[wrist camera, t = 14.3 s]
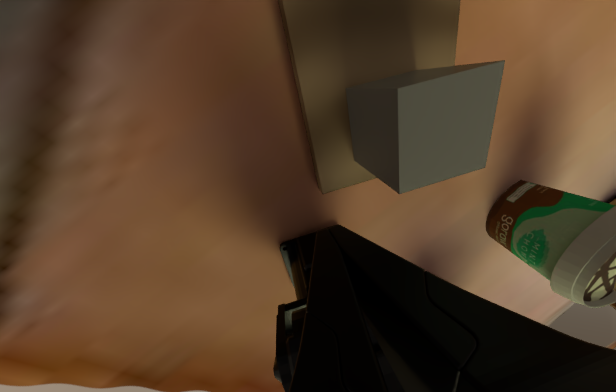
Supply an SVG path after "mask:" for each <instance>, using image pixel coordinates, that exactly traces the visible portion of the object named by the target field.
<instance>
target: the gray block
mask: <svg viewBox="0 0 616 392" xmlns="http://www.w3.org/2000/svg"><path fill="white" fill-rule="evenodd" d="M504 63H505V60H503V61H494V62H485V63H476V64H467V65H458V66H449V67H440V68H430V69H421V70H415V71H411V72H407V73H403V74H399V75H395V76H391V77H387V78H384V79H380V80H376V81H372V82H368V83H364V84H360V85H356V86H352V87H349V88H346V96H347V104H348V113H349V121H350V129H351V137H352V146H353V154H354V161H355V162H357V163H358V164H359V165H361V166H362V167H364V168H365V169H366V170H368V171H369V172H370V173H372V174H373V175H374V176H376V177H377V178H378V179H380V180H381V181H383V182H384V183H385V184H387V185H388V186H389V187H391V188H392V189H393V190H395V191H396V192H397V193H399V194H401V193H405V192H408V191H411V190H414V189H417V188H421V187H424V186H427V185H430V184H434V183H437V182H440V181H443V180H446V179H450V178H453V177H456V176H459V175H463V174H466V173H469V172H472V171H475V170H479V169H482V168H485V166H486V161H487V155H488V150H489V144H490V139H491V134H492V128H493V123H494V117H495V112H496V106H497V101H498V96H499V90H500V85H501V79H502V74H503V69H504Z"/></svg>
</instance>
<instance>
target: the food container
mask: <svg viewBox="0 0 616 392" xmlns="http://www.w3.org/2000/svg"><path fill="white" fill-rule="evenodd" d="M486 231H487V233H488V235H489V236H490V237H491V238H493V239H494V240H495V241H497V242H498V243H500V244H501V245H502V246H504V247H505V248H506V249H508V250H509V251H510V252H512V253H513V254H514V255H516V256H517V257H518V258H520V259H521V260H523V261H524V262H525V263H527V264H528V265H529V266H531V267H532V268H533V269H535V270H536V271H537V272H539V273H540V274H541V275H543V276H544V277H546V278H547V279H548V280H550V286H551V289H552V290H553V291H554V292H555V293H557V294H559V295H561V296H563V297H565V298H567V299H569V300H571V301H573V302H575V303H578V304H584V305H585V306H587V307H590V308H599V307H604V306H607V305H610V304H613V303H615V302H616V291H615V290H613V288H614V285H615V281H616V205H612V204H609V203H605V202H601V201H597V200H594V199H590V198H586V197H583V196H579V195H575V194H571V193H568V192H564V191H560V190H557V189H553V188H549V187H545V186H542V185H538V184H534V183H531V182H527V181H523V180H520V181H519V182H517V183H516V184H514V185H512V186H511V187H510V188H509V189H508V190H507V191H506V192H504V193H503V194H502V195H501V196H500V198H499V199H498V200H497V201H496V203H495V204H494V205H493V207H492V209H491V211H490V213H489V214H488V217H487V221H486Z"/></svg>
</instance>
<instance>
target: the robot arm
mask: <svg viewBox="0 0 616 392" xmlns="http://www.w3.org/2000/svg"><path fill="white" fill-rule="evenodd" d="M283 247H286V248H283ZM280 251H281V254H282V256H283V259H284V262H285V265H286V267H287V270H288V273H289V275H290V278H291V281H292V284H293V286H294V288H295V292H296V297H297V301H294V302H291V303H288V304H285V303H284V304H281V305H278V315H277V325H276V357H275V362H274V368H273V369H274V376H275V378H276V379H277V380H279V381H280V382H281V383H282V385H283V388H284V390H285V392H616V350H614V349H609V348H605V347H602V346H598V345H595V344H592V343H588V342H585V341H582V340H580V339H577V338H574V337H571V336H569V335H566V334H564V333H562V332H559V331H557V330H555V329H552V328H550V327H548V326H545V325H543V324H541V323H538V322H536V321H534V320H531V319H529V318H527V317H525V316H522V315H520V314H518V313H515V312H513V311H511V310H508V309H506V308H504V307H501V306H499V305H497V304H495V303H492V302H490V301H488V300H485V299H483V298H481V297H479V296H477V295H474V294H472V293H470V292H468V291H466V290H463V289H461V288H459V287H457V286H455V285H453V284H451V283H449V282H447V281H445V280H443V279H441V278H439V277H437V276H436V275H434V274H432V273H430V272H428V271H424V269H422V268H420V267H418V266H416V265H415V264H413V263H411V262H409V261H407V260H405V259H403V258H401V257H400V256H398V255H396V254H394V253H392V252H390V251H388V250H386V249H384V248H383V247H381V246H379V245H377V244H375V243H373V242H371V241H369V240H367V239H366V238H364V237H362V236H360V235H358V234H356V233H354V232H352V231H350V230H349V229H347V228H345V227H343V226H341V225H335V226H332V227H329V228H326V229H322V230H319V231H317V232H315V233H311V234H308V235H305V236H302V237H299V238H296V239H293V240H289V241H286V242H283V243H281V244H280Z"/></svg>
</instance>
